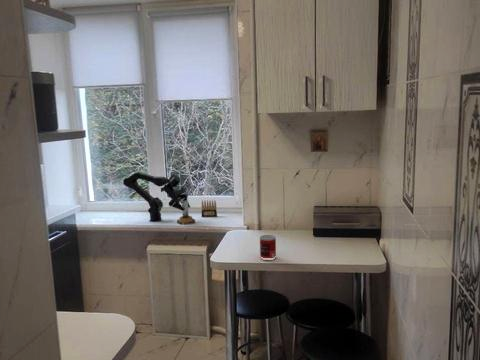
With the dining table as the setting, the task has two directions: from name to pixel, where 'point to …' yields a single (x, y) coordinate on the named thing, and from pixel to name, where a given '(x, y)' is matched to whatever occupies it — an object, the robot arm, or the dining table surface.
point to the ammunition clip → (209, 209)
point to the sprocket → (185, 220)
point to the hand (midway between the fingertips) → (186, 208)
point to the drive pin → (185, 209)
